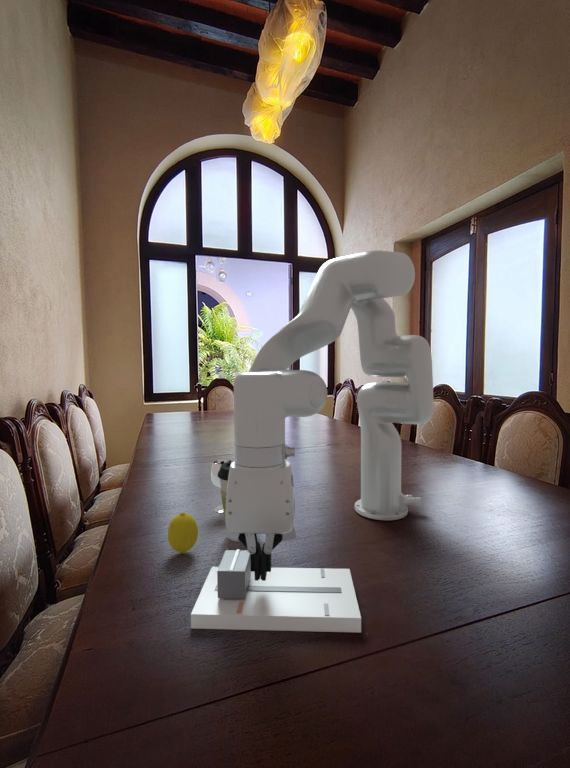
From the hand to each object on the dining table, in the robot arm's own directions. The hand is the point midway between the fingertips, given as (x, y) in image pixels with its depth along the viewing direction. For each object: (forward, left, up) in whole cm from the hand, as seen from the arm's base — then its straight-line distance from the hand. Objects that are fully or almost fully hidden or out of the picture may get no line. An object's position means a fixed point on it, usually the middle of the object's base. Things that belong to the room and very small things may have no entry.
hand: (261, 575), depth 56 cm
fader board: (-3, 0, -4) cm, 5 cm away
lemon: (+16, -14, -4) cm, 22 cm away
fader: (+4, 0, -2) cm, 4 cm away
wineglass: (+13, -36, -4) cm, 39 cm away
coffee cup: (+6, -22, -4) cm, 23 cm away
